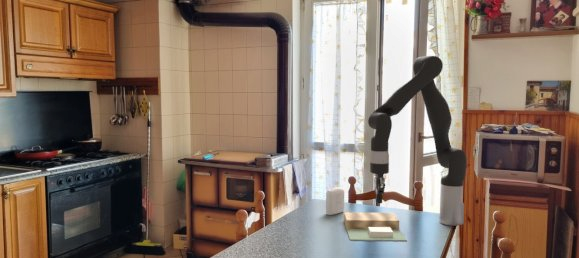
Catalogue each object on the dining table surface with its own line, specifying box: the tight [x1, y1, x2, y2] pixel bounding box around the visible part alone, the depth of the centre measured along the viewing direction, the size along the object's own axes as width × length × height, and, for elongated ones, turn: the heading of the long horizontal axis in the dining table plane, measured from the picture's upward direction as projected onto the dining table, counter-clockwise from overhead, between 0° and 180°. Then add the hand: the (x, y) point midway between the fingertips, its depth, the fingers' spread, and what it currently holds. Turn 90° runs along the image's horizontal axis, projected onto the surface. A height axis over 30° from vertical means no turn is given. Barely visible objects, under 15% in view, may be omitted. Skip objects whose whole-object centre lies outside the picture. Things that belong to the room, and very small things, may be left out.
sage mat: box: [346, 229, 408, 242], centre depth 176 cm, size 22×13×1 cm, turn 88°
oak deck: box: [343, 211, 400, 230], centre depth 189 cm, size 22×12×4 cm, turn 88°
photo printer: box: [325, 186, 345, 216], centre depth 208 cm, size 10×4×12 cm, turn 134°
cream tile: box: [368, 227, 393, 237], centre depth 176 cm, size 9×6×2 cm, turn 88°
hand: (379, 202), depth 180 cm, fingers closed
